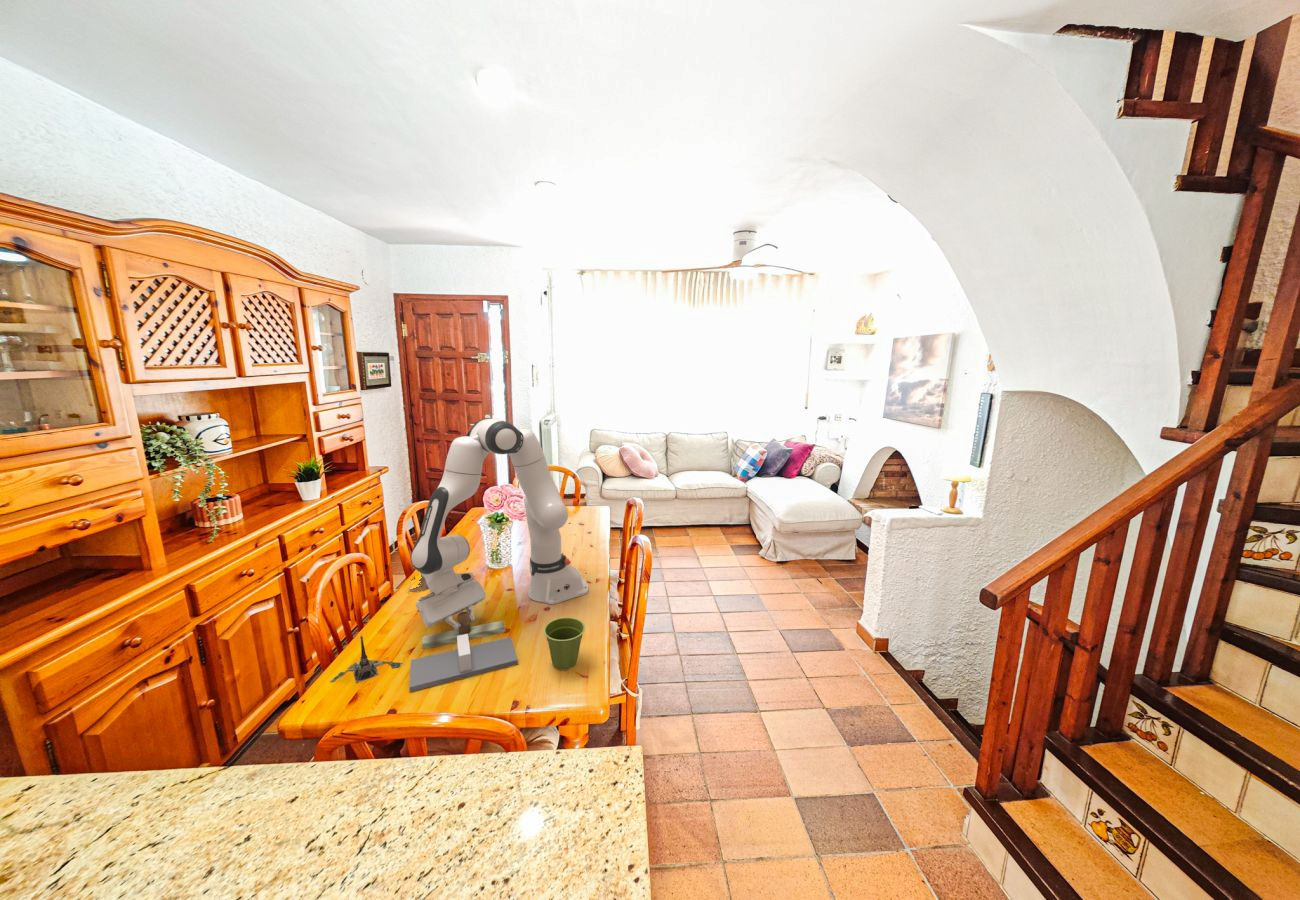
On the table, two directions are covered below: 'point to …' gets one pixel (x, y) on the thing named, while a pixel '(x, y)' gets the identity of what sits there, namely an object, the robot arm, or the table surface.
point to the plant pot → (564, 641)
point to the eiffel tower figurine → (365, 667)
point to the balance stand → (461, 662)
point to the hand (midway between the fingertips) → (465, 624)
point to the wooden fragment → (422, 586)
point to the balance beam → (463, 632)
